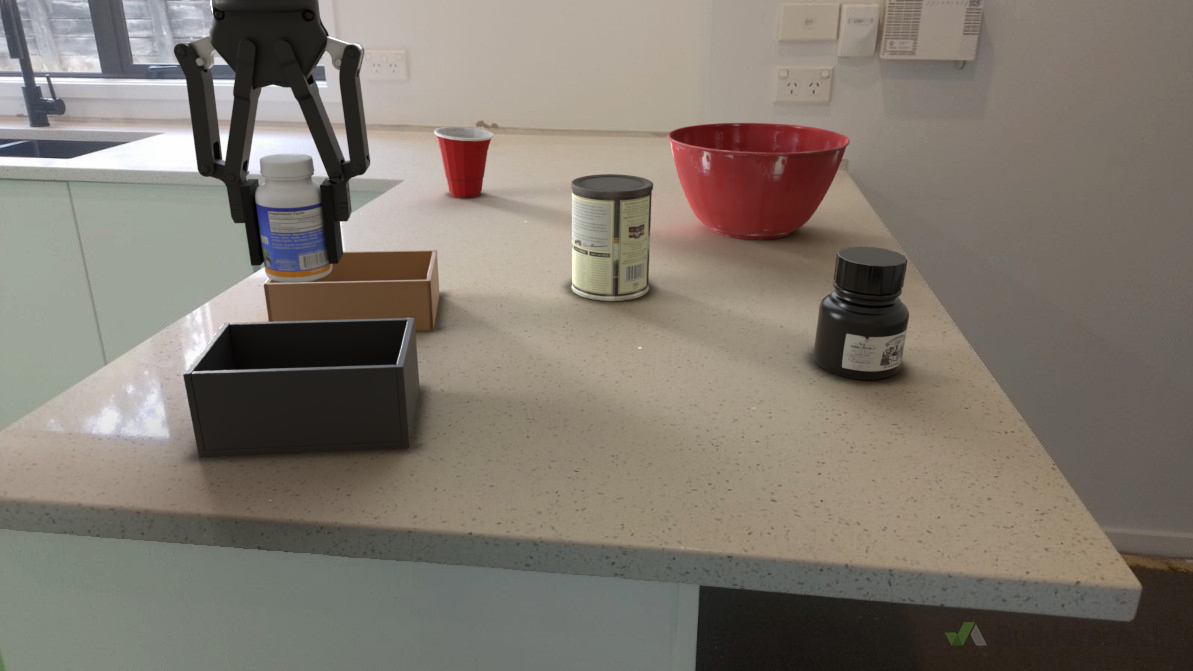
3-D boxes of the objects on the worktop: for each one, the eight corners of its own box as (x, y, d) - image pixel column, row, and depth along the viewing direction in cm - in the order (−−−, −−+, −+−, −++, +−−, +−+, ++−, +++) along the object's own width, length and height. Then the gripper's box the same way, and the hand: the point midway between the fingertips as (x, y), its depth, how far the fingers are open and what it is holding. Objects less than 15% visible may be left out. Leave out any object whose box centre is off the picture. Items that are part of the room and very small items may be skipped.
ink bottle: (856, 390, 83) (873, 275, 79) (792, 358, 90) (805, 251, 85) (920, 369, 88) (940, 260, 83) (855, 341, 95) (870, 238, 90)
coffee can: (590, 271, 117) (592, 170, 111) (660, 283, 113) (665, 178, 107) (556, 294, 108) (556, 185, 103) (630, 307, 104) (634, 194, 99)
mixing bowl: (692, 258, 124) (699, 152, 118) (644, 210, 149) (648, 122, 143) (869, 250, 129) (883, 148, 123) (793, 205, 155) (802, 120, 149)
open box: (198, 457, 70) (182, 374, 67) (236, 396, 80) (223, 322, 77) (409, 448, 71) (403, 367, 69) (419, 390, 82) (414, 317, 79)
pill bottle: (271, 265, 72) (255, 151, 69) (336, 262, 73) (324, 150, 69) (260, 286, 67) (242, 164, 64) (330, 282, 68) (316, 163, 65)
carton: (270, 335, 94) (263, 284, 92) (293, 298, 105) (287, 252, 103) (433, 330, 96) (430, 280, 94) (439, 295, 107) (436, 249, 105)
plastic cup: (482, 203, 152) (480, 136, 148) (427, 198, 155) (423, 133, 150) (503, 190, 162) (502, 127, 157) (452, 186, 165) (449, 124, 160)
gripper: (394, -43, 65) (414, 244, 74) (145, -47, 63) (196, 249, 72) (383, -46, 59) (407, 271, 67) (103, -52, 56) (166, 276, 65)
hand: (298, 259), depth 70 cm, fingers closed on pill bottle, 5 cm apart
